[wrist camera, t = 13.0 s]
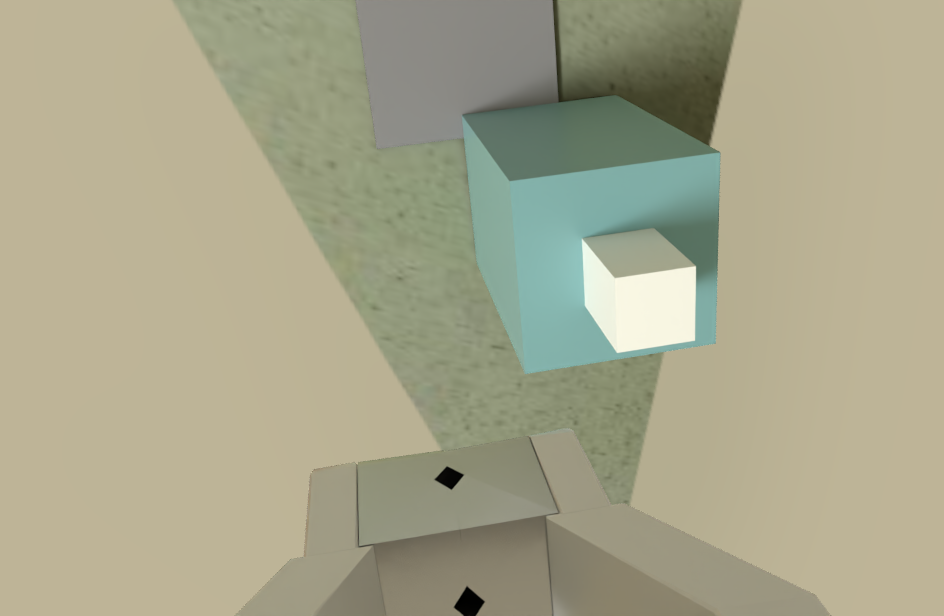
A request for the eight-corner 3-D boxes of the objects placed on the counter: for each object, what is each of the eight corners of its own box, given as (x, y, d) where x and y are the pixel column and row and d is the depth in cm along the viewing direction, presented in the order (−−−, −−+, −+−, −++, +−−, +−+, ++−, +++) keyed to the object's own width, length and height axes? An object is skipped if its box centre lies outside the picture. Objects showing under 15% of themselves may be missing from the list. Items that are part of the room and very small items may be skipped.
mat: (347, -54, 41) (347, -55, 41) (546, -75, 42) (548, -76, 42) (376, 147, 45) (376, 149, 45) (558, 124, 46) (559, 125, 46)
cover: (461, 114, 45) (533, 215, 28) (616, 94, 45) (772, 181, 29) (476, 263, 48) (548, 428, 32) (620, 242, 49) (761, 392, 33)
